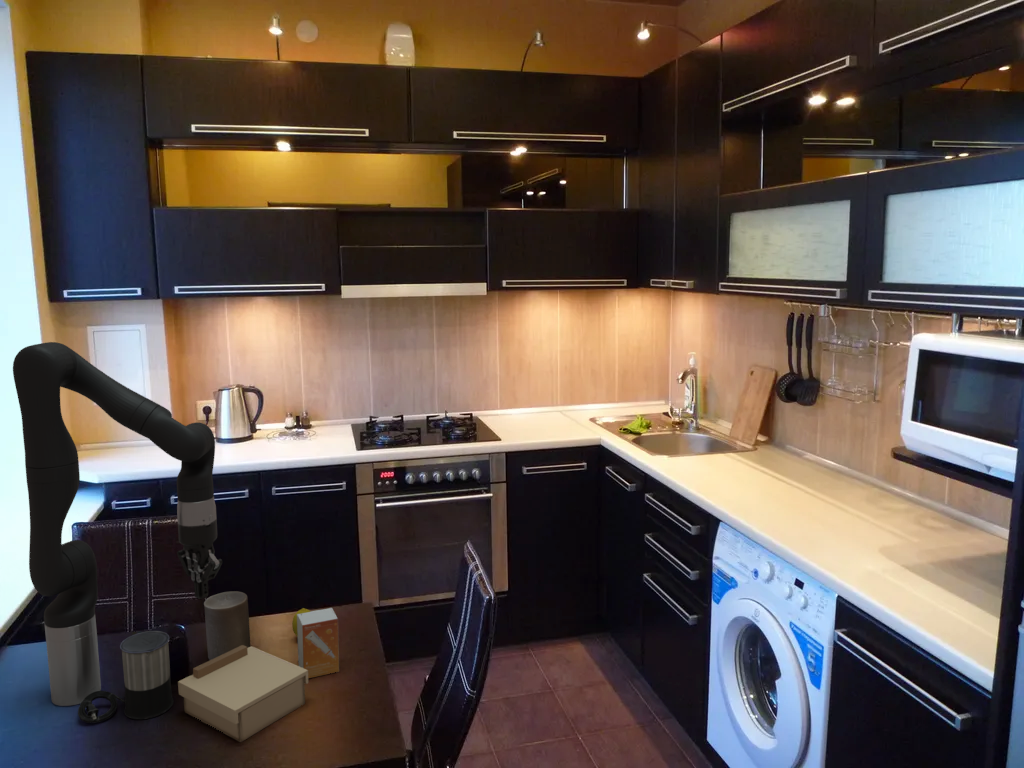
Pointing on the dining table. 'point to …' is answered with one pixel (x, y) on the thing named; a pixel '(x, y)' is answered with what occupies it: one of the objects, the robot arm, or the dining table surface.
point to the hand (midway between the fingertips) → (201, 597)
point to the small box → (318, 642)
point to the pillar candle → (226, 622)
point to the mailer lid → (238, 680)
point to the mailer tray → (253, 712)
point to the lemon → (294, 622)
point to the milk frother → (138, 680)
